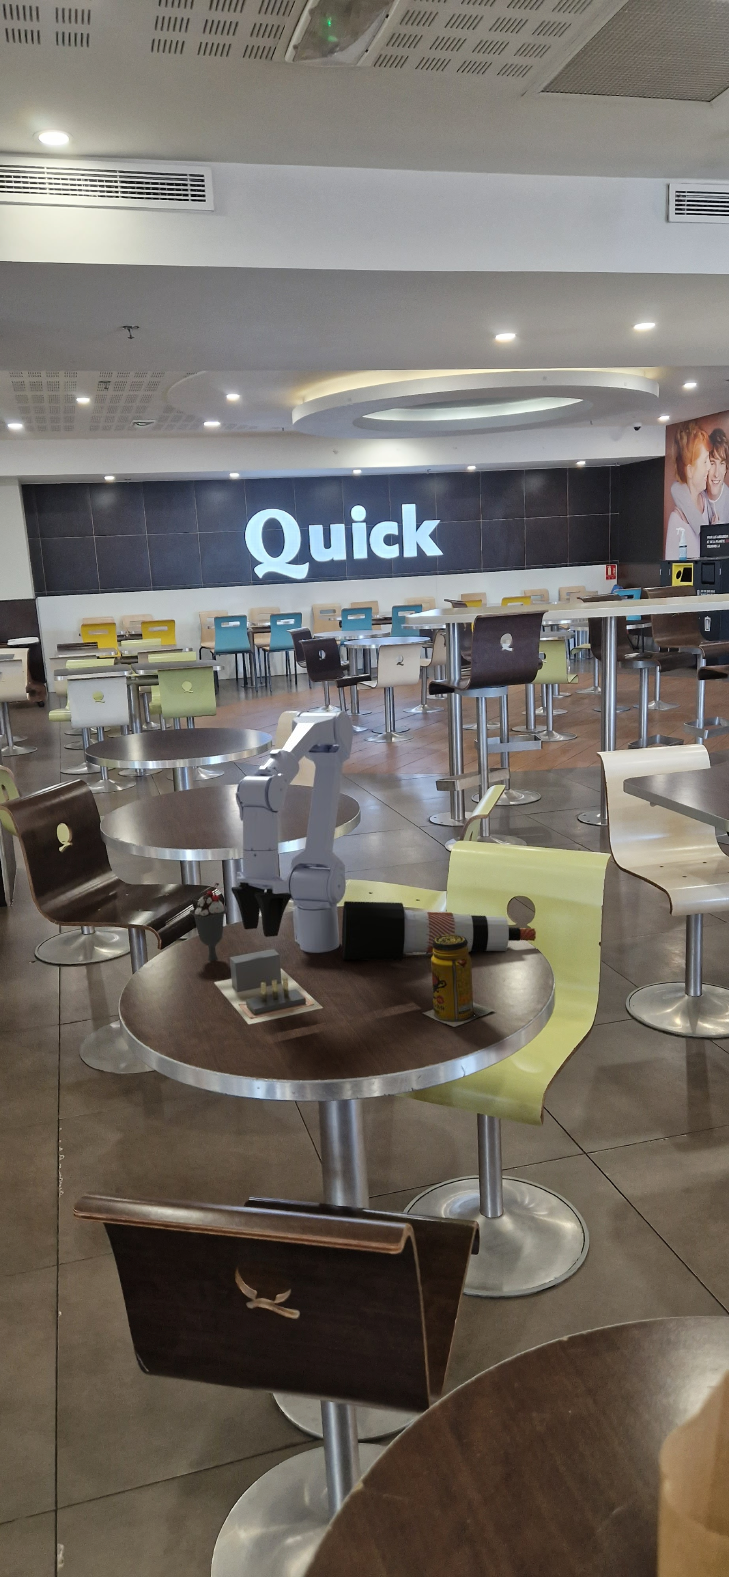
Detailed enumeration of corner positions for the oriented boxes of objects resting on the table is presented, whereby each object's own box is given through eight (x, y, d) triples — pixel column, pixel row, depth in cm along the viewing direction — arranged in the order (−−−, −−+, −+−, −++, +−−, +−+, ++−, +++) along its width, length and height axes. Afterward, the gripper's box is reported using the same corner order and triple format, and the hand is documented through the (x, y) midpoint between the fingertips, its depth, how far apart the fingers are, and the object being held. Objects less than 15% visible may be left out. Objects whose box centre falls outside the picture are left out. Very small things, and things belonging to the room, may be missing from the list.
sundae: (238, 964, 181) (231, 883, 178) (204, 973, 177) (197, 891, 174) (222, 954, 186) (215, 876, 183) (188, 963, 182) (181, 883, 180)
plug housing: (232, 986, 168) (229, 957, 167) (275, 977, 170) (273, 948, 170) (237, 992, 165) (235, 963, 164) (281, 983, 168) (279, 954, 167)
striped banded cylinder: (534, 975, 179) (544, 935, 173) (342, 971, 177) (346, 930, 170) (524, 934, 187) (534, 894, 181) (341, 929, 185) (345, 889, 178)
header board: (214, 987, 170) (211, 959, 169) (281, 973, 175) (279, 946, 174) (249, 1030, 152) (246, 999, 151) (323, 1013, 156) (321, 983, 156)
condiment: (421, 1014, 154) (418, 939, 152) (462, 999, 159) (459, 926, 157) (453, 1028, 148) (450, 950, 146) (495, 1012, 153) (492, 936, 151)
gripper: (219, 846, 168) (220, 927, 169) (257, 854, 156) (257, 941, 157) (258, 844, 172) (258, 924, 173) (298, 852, 160) (298, 937, 160)
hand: (260, 932), depth 165 cm, fingers open, 7 cm apart
